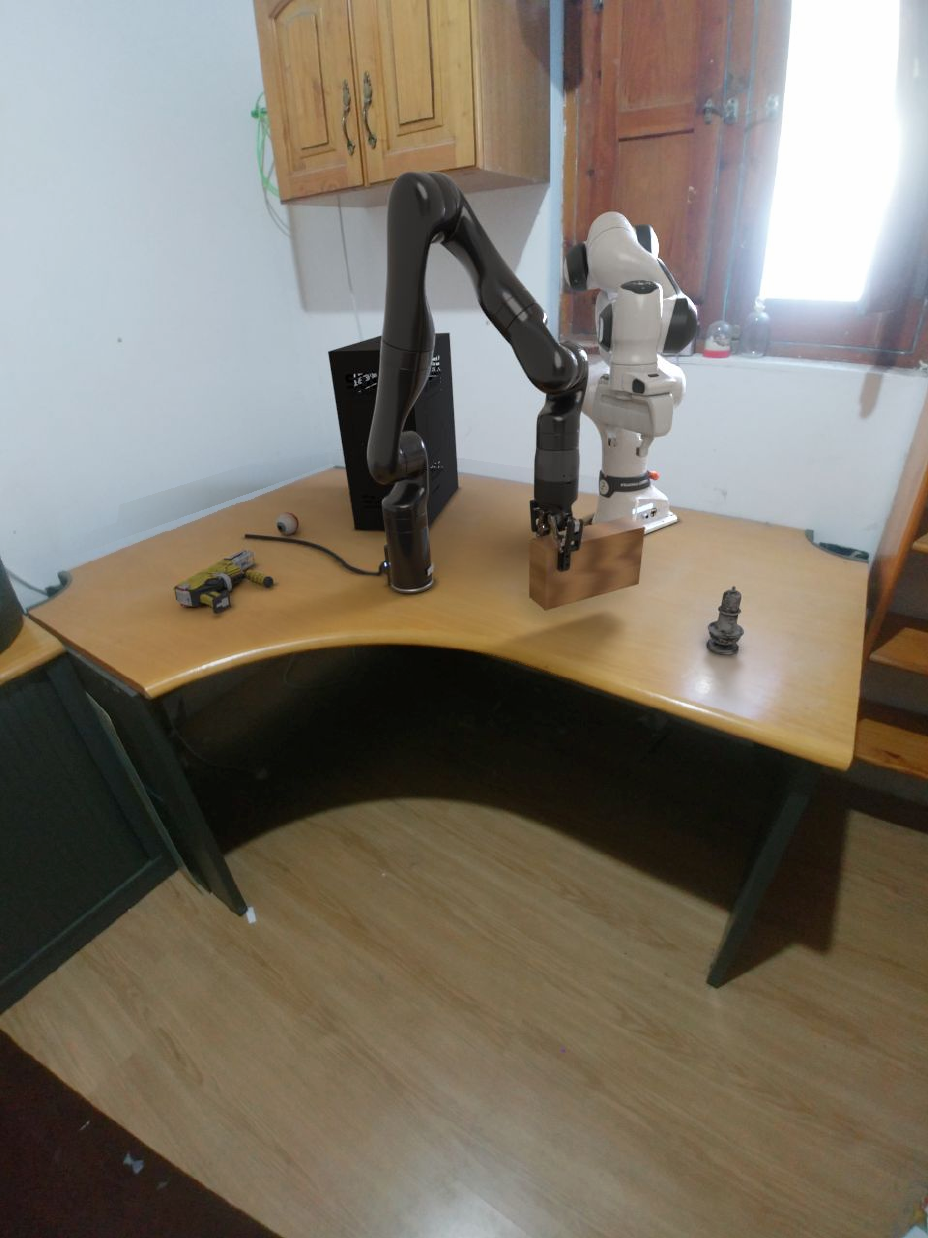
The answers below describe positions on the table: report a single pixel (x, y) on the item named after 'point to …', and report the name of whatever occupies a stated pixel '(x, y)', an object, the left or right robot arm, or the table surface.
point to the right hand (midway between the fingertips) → (626, 451)
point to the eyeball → (287, 523)
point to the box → (586, 563)
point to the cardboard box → (424, 418)
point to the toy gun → (218, 582)
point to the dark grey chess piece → (726, 625)
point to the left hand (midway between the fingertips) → (553, 563)
